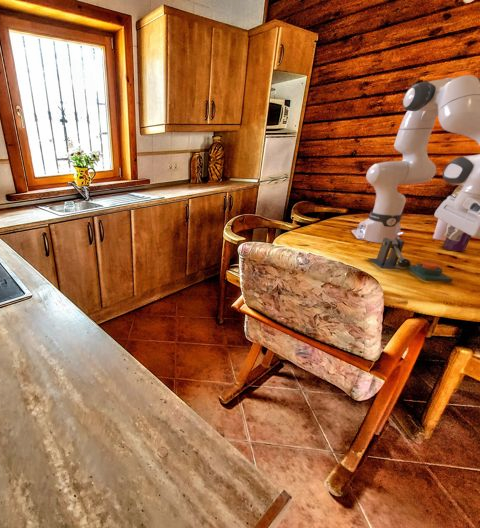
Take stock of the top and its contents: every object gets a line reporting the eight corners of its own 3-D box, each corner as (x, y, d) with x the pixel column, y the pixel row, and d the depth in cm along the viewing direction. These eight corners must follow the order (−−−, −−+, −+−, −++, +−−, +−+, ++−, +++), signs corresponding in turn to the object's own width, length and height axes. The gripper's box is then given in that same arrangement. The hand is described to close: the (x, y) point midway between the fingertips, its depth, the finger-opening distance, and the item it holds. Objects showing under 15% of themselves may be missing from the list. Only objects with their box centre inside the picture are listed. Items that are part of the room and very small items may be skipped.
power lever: (409, 270, 106) (414, 263, 104) (397, 269, 107) (403, 263, 105) (394, 244, 115) (398, 238, 113) (383, 244, 116) (388, 238, 114)
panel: (403, 269, 114) (406, 260, 112) (427, 270, 112) (431, 261, 110) (423, 282, 103) (427, 273, 102) (450, 284, 101) (454, 274, 100)
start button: (419, 265, 108) (420, 261, 108) (431, 266, 107) (433, 262, 107) (426, 270, 105) (428, 265, 104) (439, 270, 104) (441, 266, 103)
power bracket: (403, 271, 112) (414, 244, 107) (379, 270, 114) (389, 243, 109) (389, 261, 121) (398, 236, 116) (367, 260, 123) (375, 235, 118)
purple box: (468, 252, 125) (481, 226, 120) (449, 252, 127) (461, 226, 122) (455, 246, 132) (466, 222, 127) (437, 246, 133) (447, 222, 128)
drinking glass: (434, 240, 140) (446, 211, 134) (427, 236, 145) (438, 208, 139) (452, 241, 137) (465, 212, 131) (444, 237, 143) (456, 209, 137)
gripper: (441, 191, 103) (420, 226, 110) (487, 210, 86) (459, 249, 93) (461, 193, 101) (439, 227, 108) (513, 212, 84) (482, 252, 91)
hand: (449, 238), depth 101 cm, fingers closed
